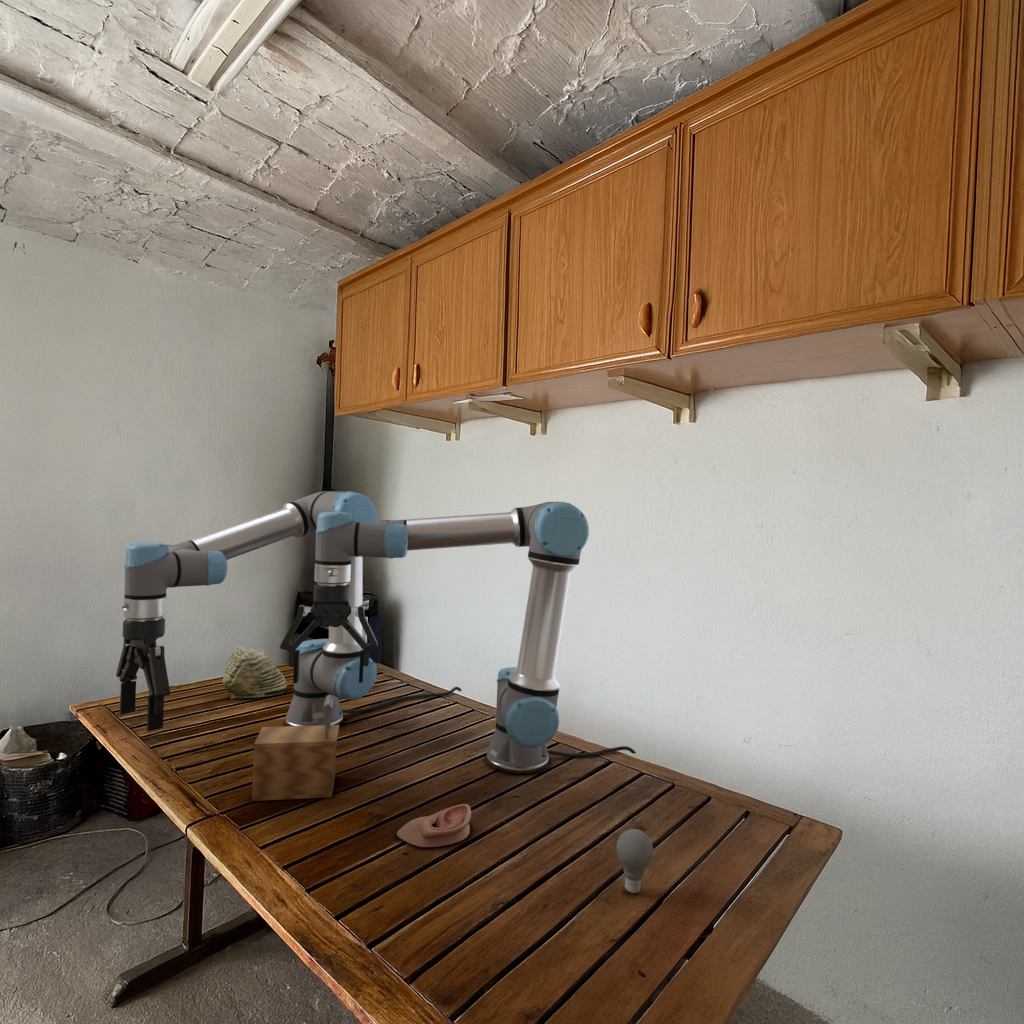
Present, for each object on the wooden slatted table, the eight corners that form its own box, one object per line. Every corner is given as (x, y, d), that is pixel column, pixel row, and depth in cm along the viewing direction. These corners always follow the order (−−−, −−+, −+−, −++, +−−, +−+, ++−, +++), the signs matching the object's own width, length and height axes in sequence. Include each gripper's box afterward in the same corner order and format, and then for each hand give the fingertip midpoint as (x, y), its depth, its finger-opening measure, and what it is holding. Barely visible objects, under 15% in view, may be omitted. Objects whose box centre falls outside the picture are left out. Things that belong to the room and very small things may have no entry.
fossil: (218, 695, 195) (220, 647, 195) (278, 685, 208) (279, 640, 207) (228, 703, 189) (230, 653, 188) (289, 692, 201) (290, 645, 201)
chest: (334, 777, 143) (336, 729, 143) (331, 797, 134) (333, 745, 134) (260, 780, 140) (262, 731, 140) (251, 801, 131) (253, 748, 130)
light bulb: (610, 879, 108) (613, 822, 108) (644, 879, 109) (647, 822, 109) (619, 902, 102) (622, 840, 102) (655, 901, 103) (658, 840, 103)
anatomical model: (391, 821, 117) (413, 793, 128) (390, 842, 117) (412, 813, 128) (460, 832, 114) (476, 802, 125) (459, 853, 114) (475, 822, 126)
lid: (339, 729, 143) (340, 692, 143) (336, 745, 134) (337, 706, 134) (262, 731, 140) (263, 693, 140) (253, 748, 130) (255, 708, 130)
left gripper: (101, 611, 135) (97, 710, 135) (150, 630, 119) (146, 742, 120) (139, 607, 141) (135, 702, 141) (191, 625, 125) (187, 732, 125)
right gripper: (268, 584, 131) (264, 687, 131) (391, 586, 135) (387, 685, 136) (274, 580, 138) (271, 676, 138) (391, 582, 143) (387, 675, 143)
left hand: (140, 721), depth 130 cm, fingers open, 13 cm apart
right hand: (328, 681), depth 137 cm, fingers open, 13 cm apart
